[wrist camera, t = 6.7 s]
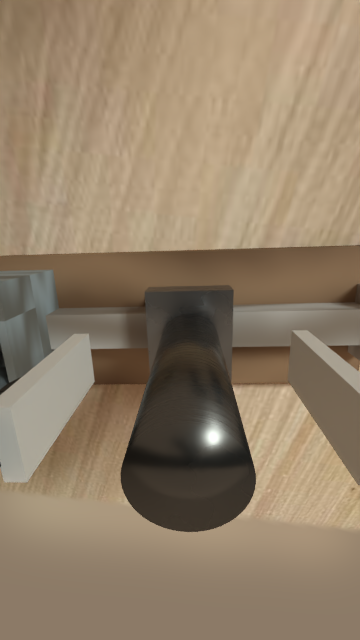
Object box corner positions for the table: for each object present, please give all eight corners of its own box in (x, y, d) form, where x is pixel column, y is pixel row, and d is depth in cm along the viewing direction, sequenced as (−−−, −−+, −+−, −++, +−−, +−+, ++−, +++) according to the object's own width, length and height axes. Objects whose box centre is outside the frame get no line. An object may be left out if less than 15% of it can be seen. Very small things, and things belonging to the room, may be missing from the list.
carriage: (152, 282, 19) (74, 374, 6) (226, 280, 19) (298, 372, 6) (157, 362, 21) (102, 564, 8) (224, 361, 21) (280, 568, 8)
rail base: (3, 255, 21) (-86, 264, 14) (369, 245, 20) (462, 249, 13) (28, 378, 24) (-37, 435, 17) (349, 376, 22) (417, 435, 16)
